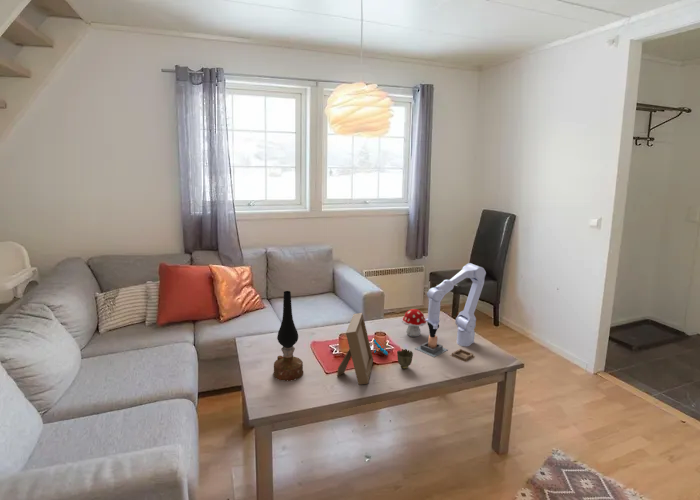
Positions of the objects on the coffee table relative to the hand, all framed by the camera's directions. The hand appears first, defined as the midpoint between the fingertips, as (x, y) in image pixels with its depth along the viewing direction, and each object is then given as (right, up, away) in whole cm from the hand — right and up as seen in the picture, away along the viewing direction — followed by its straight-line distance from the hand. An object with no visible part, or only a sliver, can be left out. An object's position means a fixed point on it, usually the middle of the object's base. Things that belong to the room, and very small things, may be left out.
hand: (432, 336), depth 215 cm
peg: (0, -7, +2) cm, 7 cm away
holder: (+14, -10, -4) cm, 18 cm away
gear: (-27, -9, -1) cm, 28 cm away
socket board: (0, -8, +2) cm, 8 cm away
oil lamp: (-70, -12, -22) cm, 75 cm away
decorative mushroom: (-6, -4, +21) cm, 23 cm away
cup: (-16, -12, -16) cm, 25 cm away
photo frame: (-40, -12, -20) cm, 46 cm away
